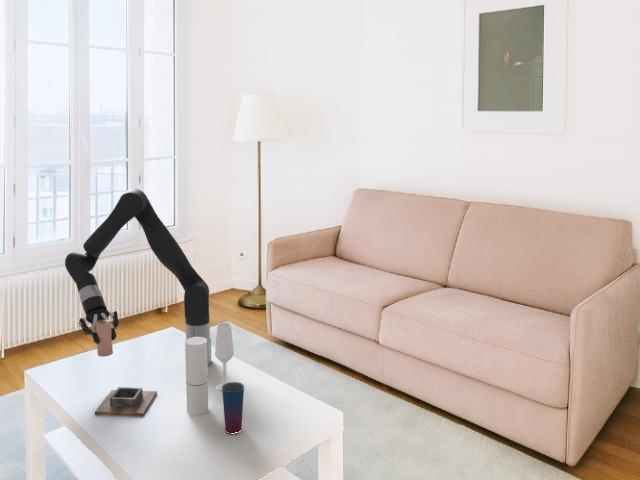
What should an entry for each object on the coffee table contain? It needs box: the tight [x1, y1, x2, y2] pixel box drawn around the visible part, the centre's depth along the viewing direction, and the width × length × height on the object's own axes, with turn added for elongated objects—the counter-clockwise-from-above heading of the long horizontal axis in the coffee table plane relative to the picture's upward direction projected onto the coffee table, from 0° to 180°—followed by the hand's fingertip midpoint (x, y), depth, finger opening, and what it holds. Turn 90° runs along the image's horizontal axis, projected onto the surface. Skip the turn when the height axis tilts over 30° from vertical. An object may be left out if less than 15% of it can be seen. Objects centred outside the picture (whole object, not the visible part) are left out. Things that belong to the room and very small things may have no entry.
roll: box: [95, 319, 114, 358], centre depth 226 cm, size 5×5×12 cm
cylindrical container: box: [184, 337, 210, 417], centre depth 209 cm, size 7×7×25 cm
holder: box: [94, 386, 158, 417], centre depth 215 cm, size 16×16×4 cm
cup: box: [221, 381, 245, 433], centre depth 199 cm, size 7×7×15 cm
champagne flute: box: [214, 322, 235, 391], centre depth 227 cm, size 7×7×24 cm
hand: (106, 340), depth 224 cm, fingers closed on roll, 5 cm apart
